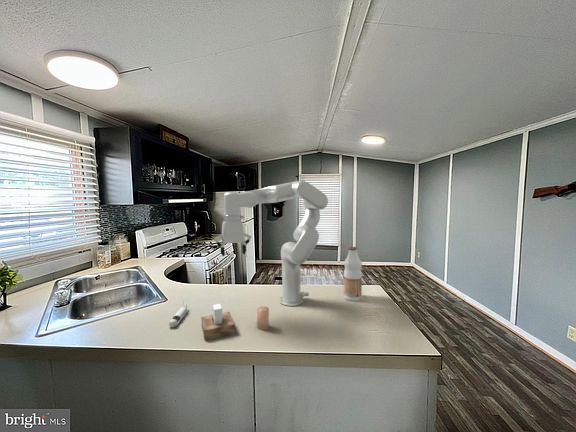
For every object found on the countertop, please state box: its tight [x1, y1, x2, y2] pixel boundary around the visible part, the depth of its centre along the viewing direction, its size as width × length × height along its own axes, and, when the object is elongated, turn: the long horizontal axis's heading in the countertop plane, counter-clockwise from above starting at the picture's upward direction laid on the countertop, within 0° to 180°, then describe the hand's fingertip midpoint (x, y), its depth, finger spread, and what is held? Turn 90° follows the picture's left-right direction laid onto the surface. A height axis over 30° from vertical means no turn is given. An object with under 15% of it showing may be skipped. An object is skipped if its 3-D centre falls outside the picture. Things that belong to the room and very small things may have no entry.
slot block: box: [201, 311, 236, 341], centre depth 107 cm, size 12×12×4 cm
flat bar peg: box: [212, 303, 223, 325], centre depth 107 cm, size 3×5×10 cm, turn 23°
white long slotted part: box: [168, 300, 189, 328], centre depth 117 cm, size 18×5×6 cm, turn 3°
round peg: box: [256, 306, 270, 331], centre depth 109 cm, size 5×5×8 cm
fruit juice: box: [343, 246, 363, 302], centre depth 138 cm, size 9×9×28 cm
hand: (233, 254), depth 121 cm, fingers open, 9 cm apart
